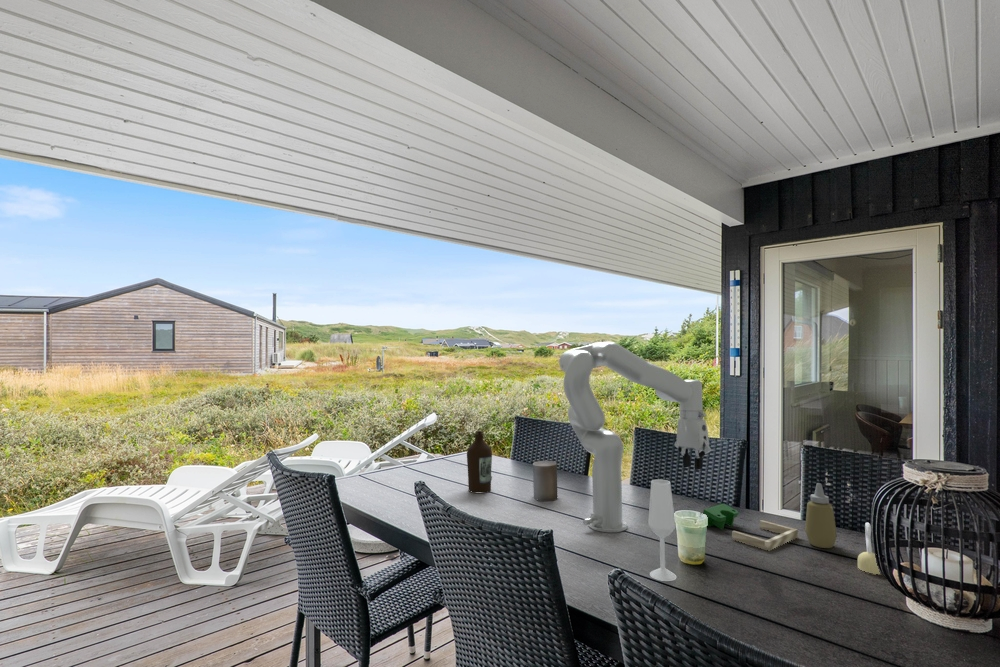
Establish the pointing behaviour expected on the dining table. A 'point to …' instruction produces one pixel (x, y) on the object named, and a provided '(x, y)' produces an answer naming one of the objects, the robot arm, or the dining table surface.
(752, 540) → the keeper bracket
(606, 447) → the robot arm
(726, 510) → the clamp
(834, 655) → the dining table surface
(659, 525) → the champagne flute
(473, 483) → the olive oil
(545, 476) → the pillar candle
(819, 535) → the squeeze bottle
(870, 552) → the pale yellow handled piece
